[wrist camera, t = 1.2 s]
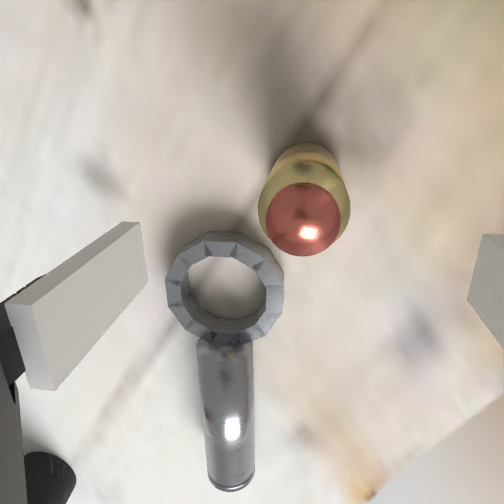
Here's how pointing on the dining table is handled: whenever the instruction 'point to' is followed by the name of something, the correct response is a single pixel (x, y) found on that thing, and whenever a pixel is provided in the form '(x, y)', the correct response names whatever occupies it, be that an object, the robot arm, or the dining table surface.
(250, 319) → the grey ring-headed tool
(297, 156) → the yellow jar pink lid
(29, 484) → the travel mug
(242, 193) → the dining table surface
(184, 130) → the dining table surface
